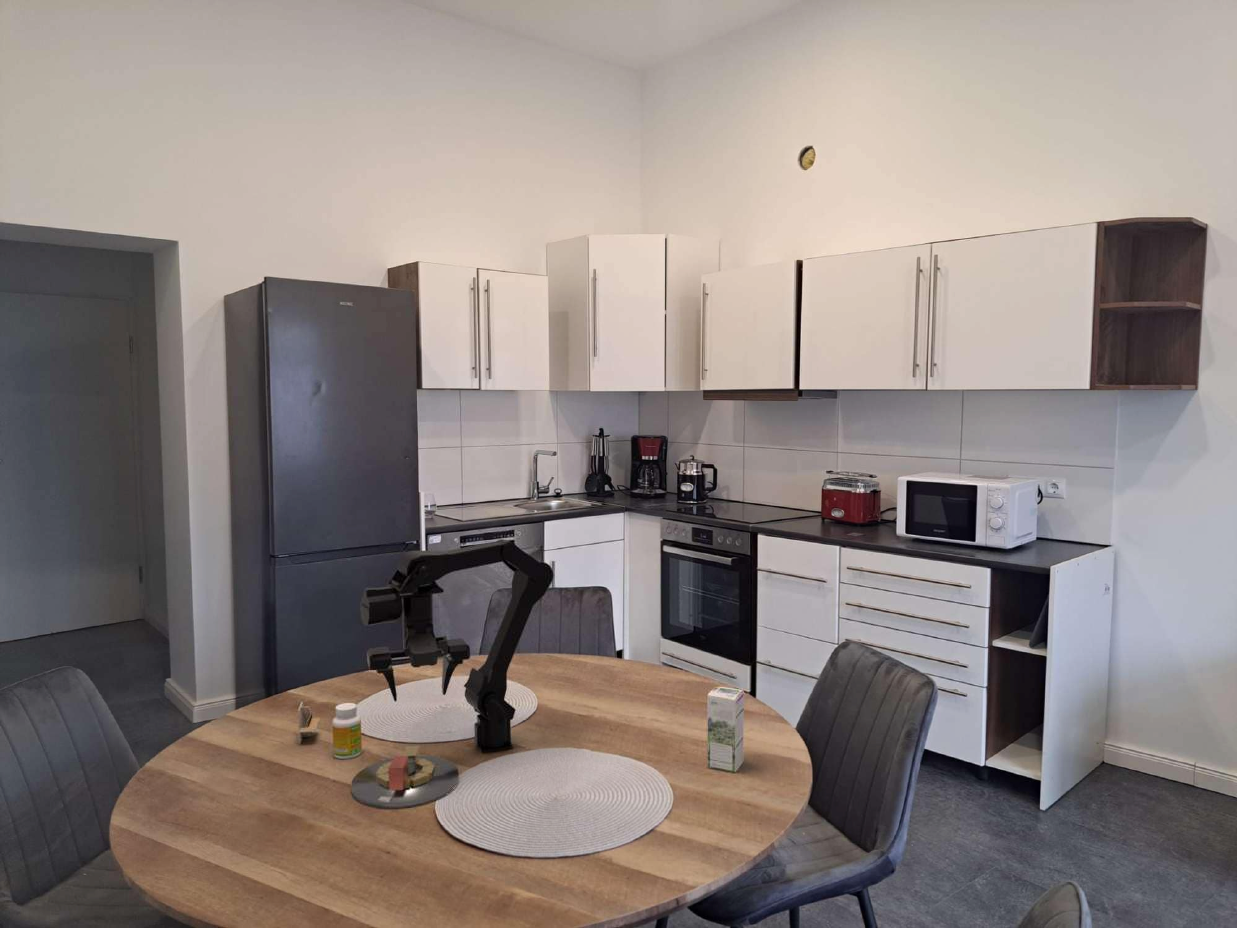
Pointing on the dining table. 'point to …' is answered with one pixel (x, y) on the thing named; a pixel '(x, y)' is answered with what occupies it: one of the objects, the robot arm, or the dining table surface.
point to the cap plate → (427, 792)
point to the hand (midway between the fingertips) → (419, 697)
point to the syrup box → (725, 728)
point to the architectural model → (306, 722)
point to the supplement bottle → (346, 732)
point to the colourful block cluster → (405, 771)
